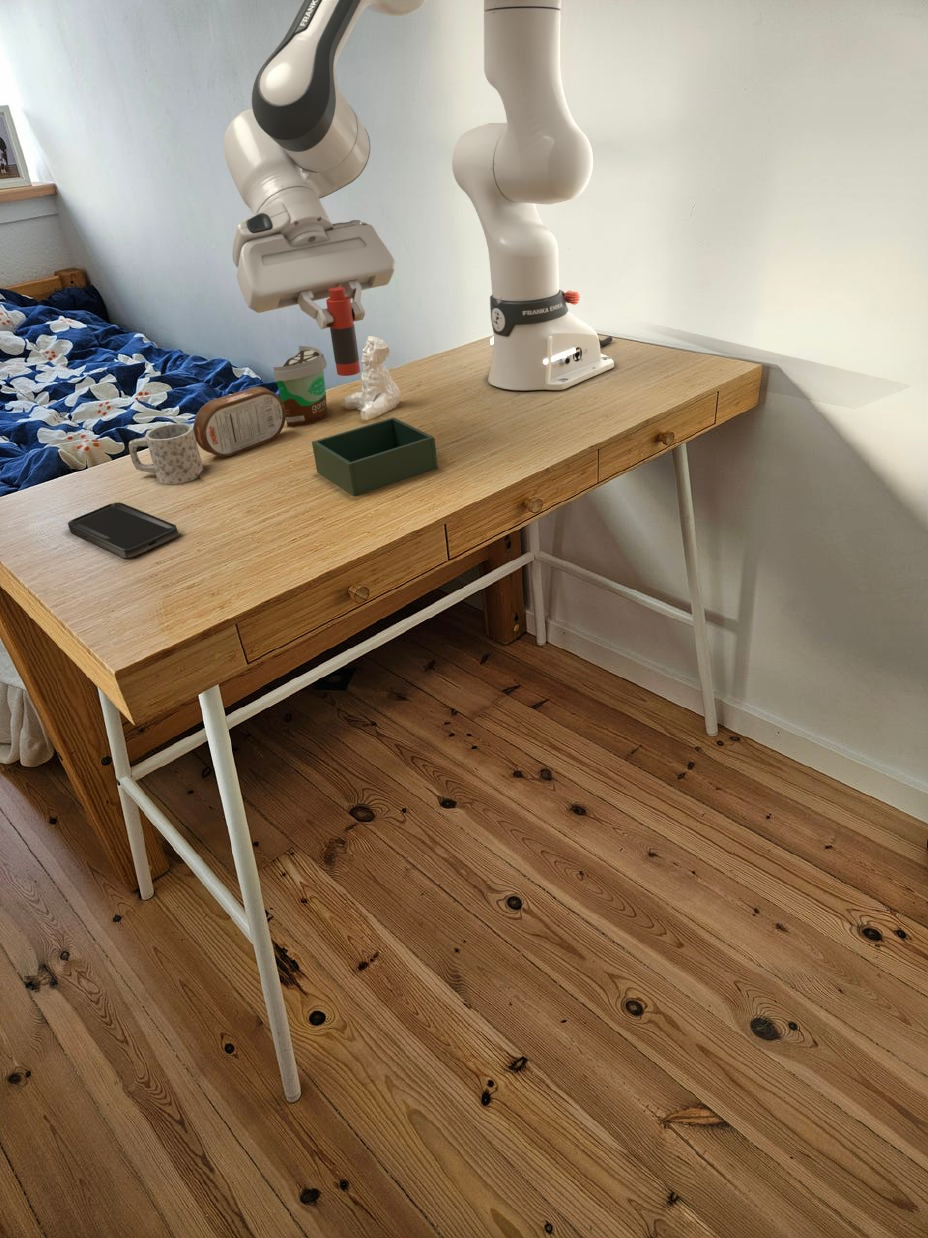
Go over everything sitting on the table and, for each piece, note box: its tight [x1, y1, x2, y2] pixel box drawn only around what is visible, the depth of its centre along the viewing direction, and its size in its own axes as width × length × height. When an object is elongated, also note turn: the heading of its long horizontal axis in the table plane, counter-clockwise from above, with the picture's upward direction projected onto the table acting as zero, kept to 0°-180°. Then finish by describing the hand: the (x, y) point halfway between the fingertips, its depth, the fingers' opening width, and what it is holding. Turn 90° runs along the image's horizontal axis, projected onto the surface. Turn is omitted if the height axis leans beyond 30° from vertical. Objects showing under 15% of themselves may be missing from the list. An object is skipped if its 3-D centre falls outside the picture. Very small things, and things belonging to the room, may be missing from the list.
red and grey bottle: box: [325, 287, 361, 377], centre depth 114 cm, size 3×3×10 cm
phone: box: [67, 501, 180, 559], centre depth 115 cm, size 8×1×15 cm
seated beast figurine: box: [344, 335, 402, 421], centre depth 145 cm, size 10×9×12 cm
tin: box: [193, 386, 286, 458], centre depth 136 cm, size 15×3×8 cm, turn 134°
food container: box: [272, 345, 328, 428], centre depth 145 cm, size 12×6×10 cm, turn 168°
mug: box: [128, 422, 204, 485], centre depth 129 cm, size 10×7×7 cm, turn 86°
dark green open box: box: [311, 416, 439, 497], centre depth 124 cm, size 13×11×5 cm
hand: (343, 321), depth 112 cm, fingers closed on red and grey bottle, 3 cm apart
